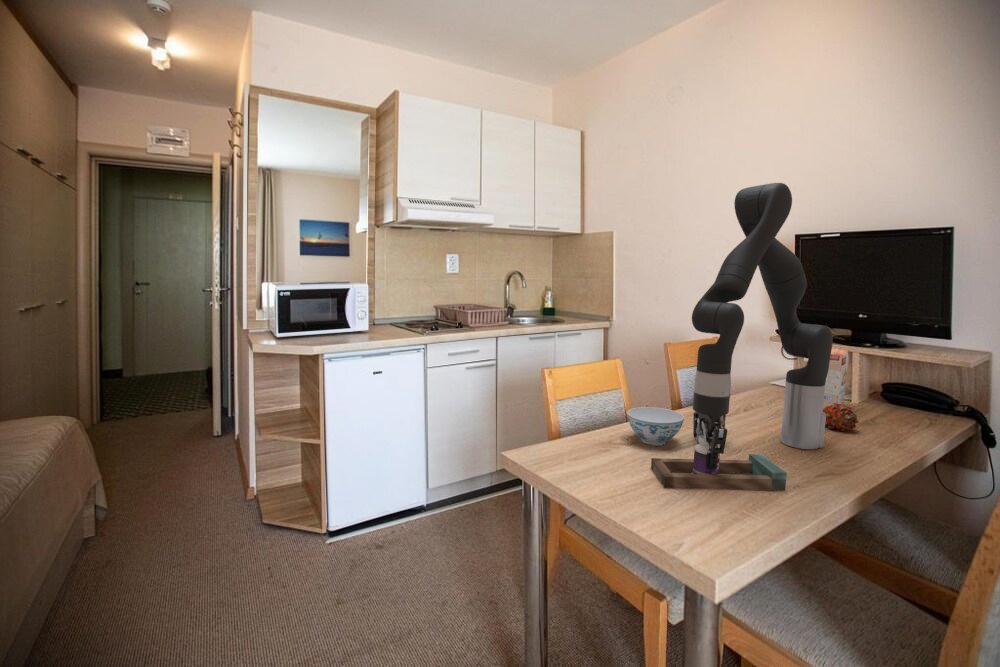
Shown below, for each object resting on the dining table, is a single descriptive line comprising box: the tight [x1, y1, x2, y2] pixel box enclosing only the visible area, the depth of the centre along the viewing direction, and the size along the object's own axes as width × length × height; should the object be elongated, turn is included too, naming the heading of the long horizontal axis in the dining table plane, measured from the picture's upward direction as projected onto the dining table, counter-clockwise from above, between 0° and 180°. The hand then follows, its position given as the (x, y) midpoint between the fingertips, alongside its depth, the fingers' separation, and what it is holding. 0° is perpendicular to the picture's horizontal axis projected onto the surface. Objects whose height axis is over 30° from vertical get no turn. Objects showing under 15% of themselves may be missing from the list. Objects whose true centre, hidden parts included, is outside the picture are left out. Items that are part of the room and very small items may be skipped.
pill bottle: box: [692, 435, 721, 474], centre depth 115 cm, size 5×5×10 cm
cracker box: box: [823, 347, 850, 408], centre depth 172 cm, size 14×6×21 cm, turn 138°
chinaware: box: [626, 406, 685, 446], centre depth 140 cm, size 15×15×8 cm
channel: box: [650, 453, 788, 491], centre depth 115 cm, size 26×11×4 cm, turn 89°
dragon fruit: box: [823, 403, 860, 432], centre depth 153 cm, size 8×8×12 cm
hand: (706, 463), depth 115 cm, fingers closed on pill bottle, 5 cm apart
